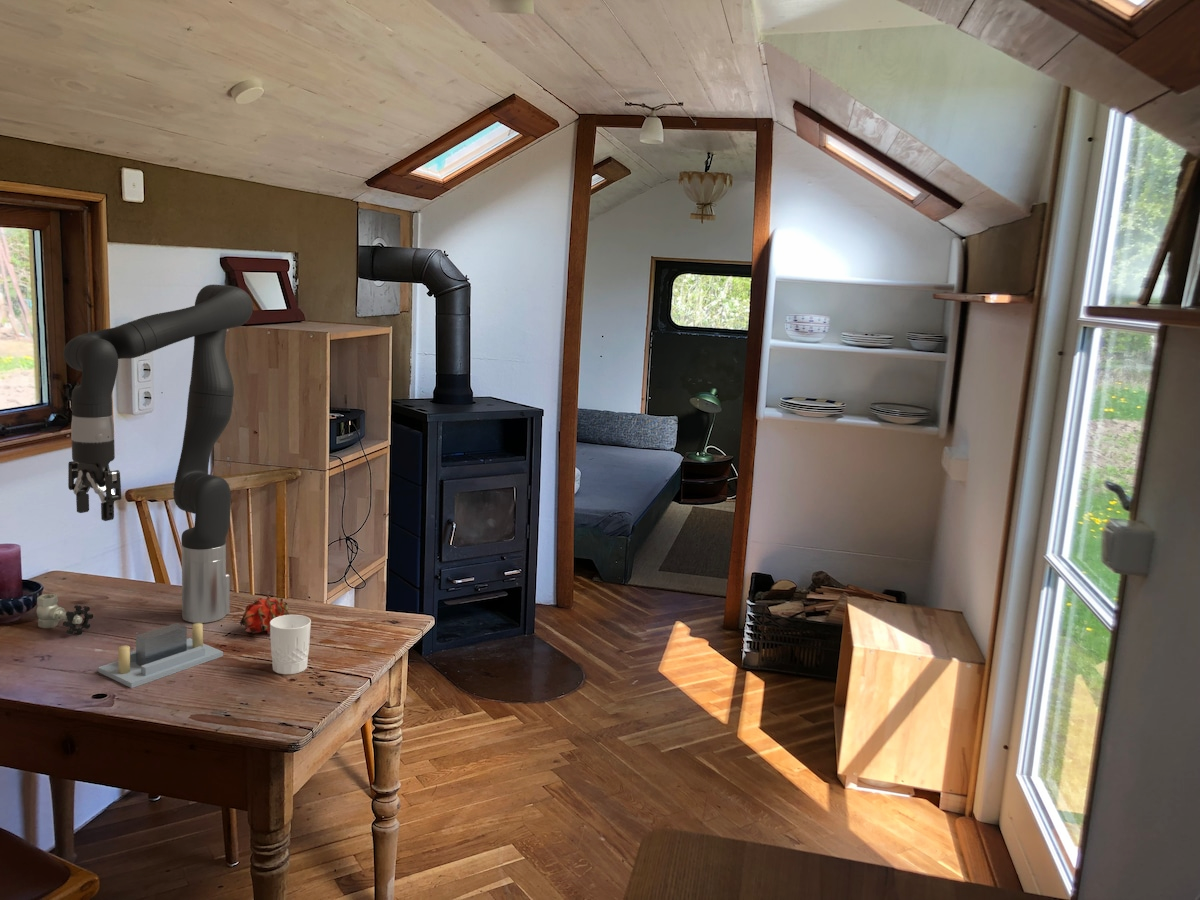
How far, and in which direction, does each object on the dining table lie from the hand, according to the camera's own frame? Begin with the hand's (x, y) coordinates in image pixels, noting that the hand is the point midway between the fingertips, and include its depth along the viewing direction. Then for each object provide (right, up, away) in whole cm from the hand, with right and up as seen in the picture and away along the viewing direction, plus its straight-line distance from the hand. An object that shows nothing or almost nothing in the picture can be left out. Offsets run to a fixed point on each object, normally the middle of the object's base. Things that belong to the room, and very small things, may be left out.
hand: (95, 516), depth 190 cm
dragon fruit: (+28, -27, +19) cm, 43 cm away
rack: (+14, -30, -1) cm, 33 cm away
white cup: (+39, -31, +1) cm, 50 cm away
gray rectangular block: (+14, -29, -1) cm, 32 cm away
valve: (-14, -25, +12) cm, 31 cm away
